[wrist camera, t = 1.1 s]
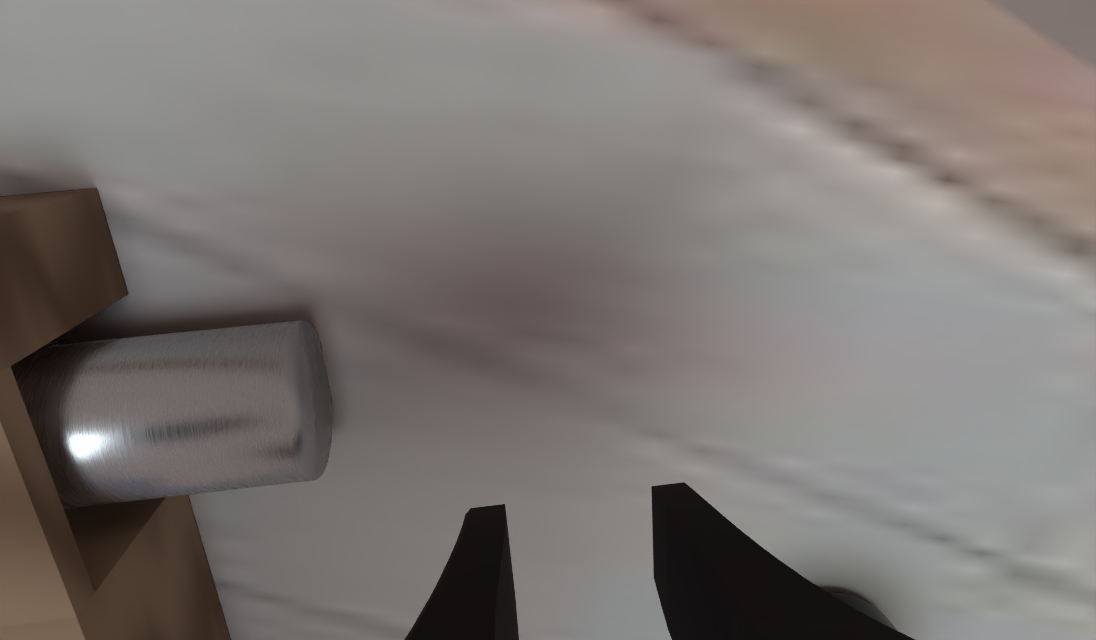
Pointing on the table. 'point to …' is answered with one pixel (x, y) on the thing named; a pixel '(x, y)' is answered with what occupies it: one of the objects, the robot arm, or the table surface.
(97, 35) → the table surface
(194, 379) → the axle
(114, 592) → the beam
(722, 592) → the robot arm
